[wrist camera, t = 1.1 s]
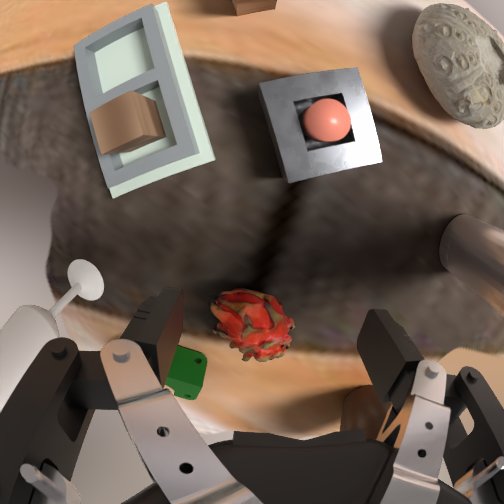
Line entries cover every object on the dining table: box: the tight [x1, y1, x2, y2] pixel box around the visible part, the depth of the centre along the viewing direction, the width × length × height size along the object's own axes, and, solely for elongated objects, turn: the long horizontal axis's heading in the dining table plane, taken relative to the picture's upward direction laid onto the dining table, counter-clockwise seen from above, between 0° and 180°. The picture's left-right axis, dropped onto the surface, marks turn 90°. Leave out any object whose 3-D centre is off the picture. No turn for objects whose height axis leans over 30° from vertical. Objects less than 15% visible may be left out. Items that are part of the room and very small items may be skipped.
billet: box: [90, 90, 166, 155], centre depth 23 cm, size 4×4×7 cm
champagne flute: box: [0, 259, 104, 412], centre depth 23 cm, size 7×7×24 cm
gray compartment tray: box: [74, 2, 216, 198], centre depth 24 cm, size 13×22×4 cm, turn 16°
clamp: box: [165, 346, 207, 400], centre depth 37 cm, size 12×6×9 cm, turn 64°
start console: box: [258, 68, 382, 183], centre depth 25 cm, size 10×10×5 cm
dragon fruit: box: [208, 288, 296, 362], centre depth 33 cm, size 8×8×12 cm
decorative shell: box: [412, 3, 504, 129], centre depth 19 cm, size 18×18×10 cm
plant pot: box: [340, 385, 392, 440], centre depth 37 cm, size 15×15×16 cm
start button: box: [300, 99, 351, 142], centre depth 23 cm, size 4×4×4 cm
